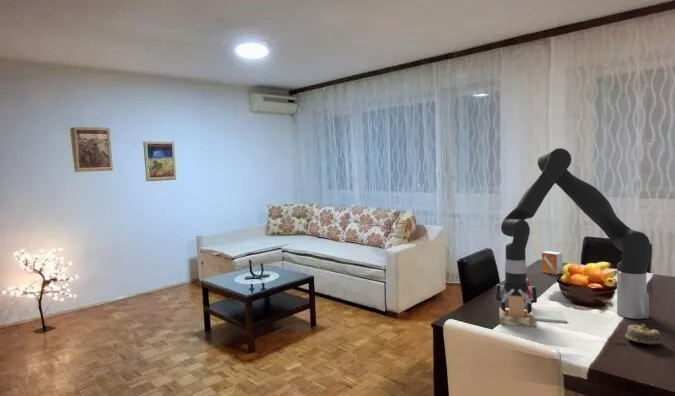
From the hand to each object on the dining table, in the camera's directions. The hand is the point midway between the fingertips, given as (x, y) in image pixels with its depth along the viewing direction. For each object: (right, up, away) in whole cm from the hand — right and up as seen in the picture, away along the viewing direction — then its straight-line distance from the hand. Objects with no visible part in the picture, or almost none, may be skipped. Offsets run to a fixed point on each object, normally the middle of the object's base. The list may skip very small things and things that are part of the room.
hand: (516, 312), depth 155 cm
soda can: (+9, -2, +15) cm, 18 cm away
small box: (+46, +2, +61) cm, 76 cm away
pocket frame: (0, -3, 0) cm, 3 cm away
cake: (+33, -4, -21) cm, 39 cm away
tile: (+14, -3, +2) cm, 14 cm away
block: (0, -3, 0) cm, 3 cm away
